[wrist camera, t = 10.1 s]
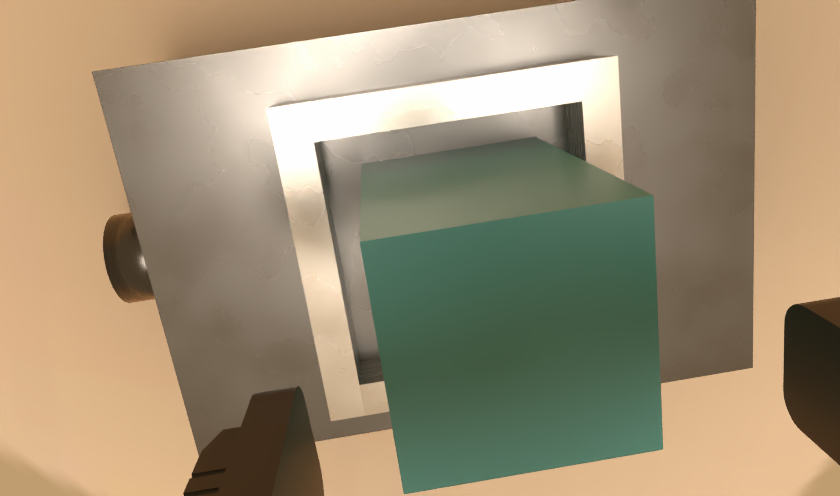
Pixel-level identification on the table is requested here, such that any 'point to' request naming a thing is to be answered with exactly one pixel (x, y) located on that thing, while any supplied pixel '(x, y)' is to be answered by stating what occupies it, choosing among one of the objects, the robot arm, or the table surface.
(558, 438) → the block
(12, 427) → the table surface
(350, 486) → the table surface
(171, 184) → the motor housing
